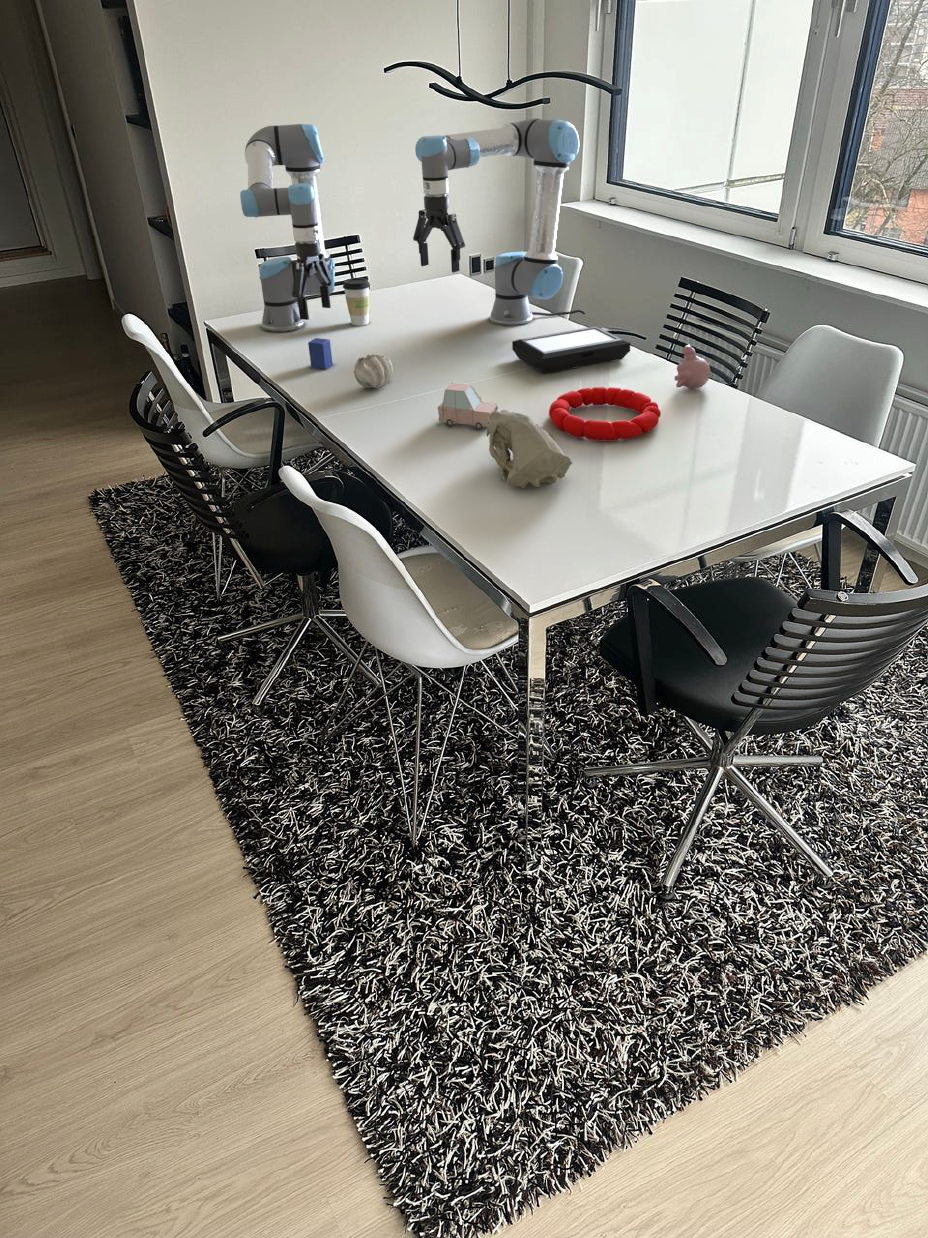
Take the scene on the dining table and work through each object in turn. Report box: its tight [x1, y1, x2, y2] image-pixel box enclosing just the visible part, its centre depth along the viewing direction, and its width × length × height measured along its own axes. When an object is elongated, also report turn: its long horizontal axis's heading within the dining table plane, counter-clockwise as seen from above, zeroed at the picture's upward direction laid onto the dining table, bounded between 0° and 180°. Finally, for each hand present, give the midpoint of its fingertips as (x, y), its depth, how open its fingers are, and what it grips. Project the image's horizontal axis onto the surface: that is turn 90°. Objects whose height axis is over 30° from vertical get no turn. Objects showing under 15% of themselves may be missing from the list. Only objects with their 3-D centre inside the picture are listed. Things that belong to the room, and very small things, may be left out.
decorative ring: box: [548, 386, 661, 442], centre depth 242 cm, size 7×30×30 cm
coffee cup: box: [342, 277, 371, 327], centre depth 323 cm, size 10×10×15 cm
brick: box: [307, 337, 334, 371], centre depth 286 cm, size 5×5×8 cm
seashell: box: [353, 354, 394, 389], centre depth 268 cm, size 10×15×10 cm
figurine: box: [674, 344, 711, 390], centre depth 259 cm, size 9×11×12 cm
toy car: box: [437, 382, 499, 431], centre depth 243 cm, size 9×15×10 cm, turn 70°
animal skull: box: [485, 409, 573, 489], centre depth 216 cm, size 17×25×20 cm
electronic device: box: [511, 326, 631, 374], centre depth 286 cm, size 32×6×20 cm
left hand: (315, 313), depth 279 cm, fingers open, 13 cm apart
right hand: (440, 268), depth 279 cm, fingers open, 13 cm apart
